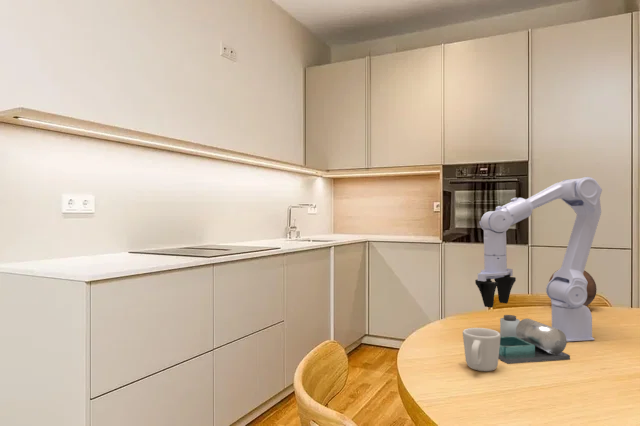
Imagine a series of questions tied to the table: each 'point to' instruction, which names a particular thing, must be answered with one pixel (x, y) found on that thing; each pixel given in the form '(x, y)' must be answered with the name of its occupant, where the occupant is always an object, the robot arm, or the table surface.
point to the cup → (481, 348)
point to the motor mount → (533, 344)
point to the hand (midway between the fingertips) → (496, 304)
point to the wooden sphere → (588, 287)
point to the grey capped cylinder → (508, 325)
